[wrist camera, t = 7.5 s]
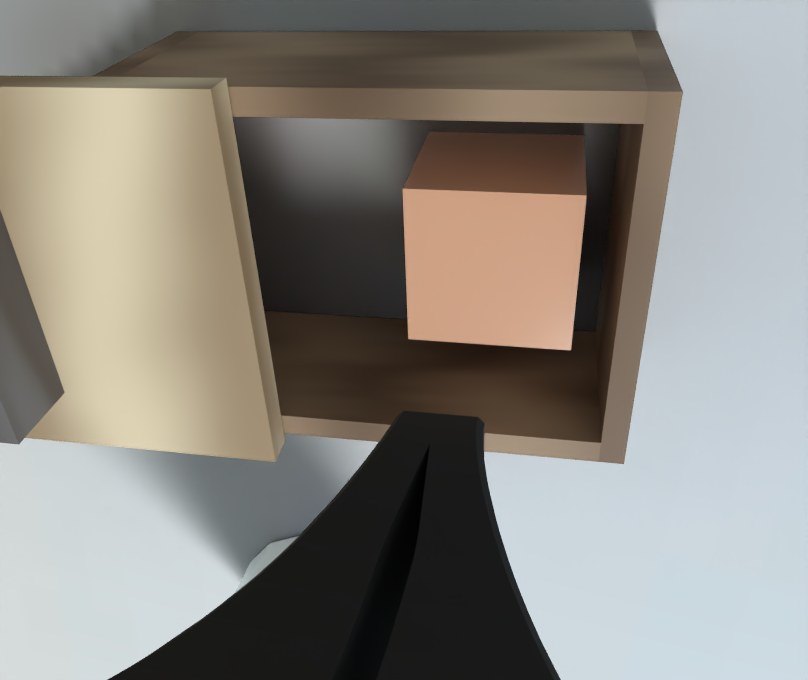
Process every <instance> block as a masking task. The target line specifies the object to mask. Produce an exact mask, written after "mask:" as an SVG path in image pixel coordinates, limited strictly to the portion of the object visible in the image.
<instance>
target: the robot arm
mask: <svg viewBox="0 0 808 680" xmlns="http://www.w3.org/2000/svg"><path fill="white" fill-rule="evenodd" d="M484 435H485V423H484V422H483V421H482V420H481V419H480V418H479V417H473V416H462V415H450V414H438V413H426V412H415V411H402V412H401V413H400V414H398V415H397V416H396V418H395V419H394V421H393V422H392V424H391V426H390V427H389V428H388V430H387V431H386V433H385V434H384V436H383V437H382V439H381V440H380V441H379V443H378V444H377V445H376V447H375V448H374V449H373V451H372V452H371V453H370V455H369V456H368V457H367V459H366V460H365V461H364V463H363V464H362V465H361V466H360V468H359V469H358V470H357V471H356V472H355V474H354V475H353V476H352V477H351V479H350V480H349V481H348V482H347V483H346V485H345V486H344V487H343V488H342V489H341V491H340V492H339V493H338V494H337V495H336V497H335V498H334V499H333V500H332V501H331V502H330V503H329V504H328V505H327V507H326V508H325V509H324V510H323V511H322V512H321V513H320V514H319V515H318V516H317V517H316V518H315V519H314V520H313V522H312V523H311V524H310V525H309V526H308V527H307V528H306V529H305V530H304V531H303V532H302V533H301V534H300V535H299V536H298V537H297V538H296V539H295V540H294V541H293V542H292V543H291V544H290V545H289V546H288V547H287V548H286V549H285V550H284V551H283V552H282V553H281V554H280V555H279V556H278V557H276V558H275V559H274V560H273V561H272V562H271V563H270V564H269V565H268V566H266V567H265V568H264V569H263V570H262V571H261V572H260V573H259V574H257V575H256V576H255V577H254V578H253V579H252V580H250V581H249V582H248V583H247V584H245V585H244V586H243V587H242V588H241V589H239V590H238V591H237V592H236V593H234V594H233V595H232V596H231V597H230V598H228V599H227V600H226V601H225V602H223V603H222V604H221V605H220V606H218V607H217V608H216V609H214V610H213V611H212V612H210V613H209V614H208V615H206V616H205V617H204V618H202V619H201V620H200V621H198V622H197V623H195V624H194V625H192V626H191V627H189V628H188V629H186V630H185V631H183V632H182V633H181V634H179V635H178V636H176V637H175V638H173V639H172V640H170V641H169V642H167V643H166V644H165V645H163V646H162V647H160V648H159V649H157V650H156V651H154V652H153V653H151V654H150V655H148V656H147V657H145V658H144V659H142V660H140V661H139V662H137V663H136V664H134V665H132V666H131V667H129V668H127V669H125V670H124V671H122V672H120V673H119V674H117V675H115V676H113V677H112V678H110V679H108V680H560V678H559V676H558V674H557V672H556V670H555V668H554V666H553V664H552V662H551V660H550V658H549V656H548V654H547V652H546V650H545V648H544V646H543V644H542V642H541V640H540V638H539V635H538V633H537V631H536V629H535V626H534V624H533V622H532V620H531V617H530V615H529V613H528V611H527V608H526V606H525V603H524V601H523V598H522V596H521V593H520V591H519V588H518V586H517V583H516V580H515V578H514V575H513V572H512V569H511V566H510V563H509V561H508V557H507V554H506V551H505V548H504V545H503V542H502V539H501V535H500V532H499V528H498V525H497V521H496V517H495V513H494V509H493V505H492V501H491V496H490V492H489V487H488V482H487V477H486V469H485V462H484Z"/></svg>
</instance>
